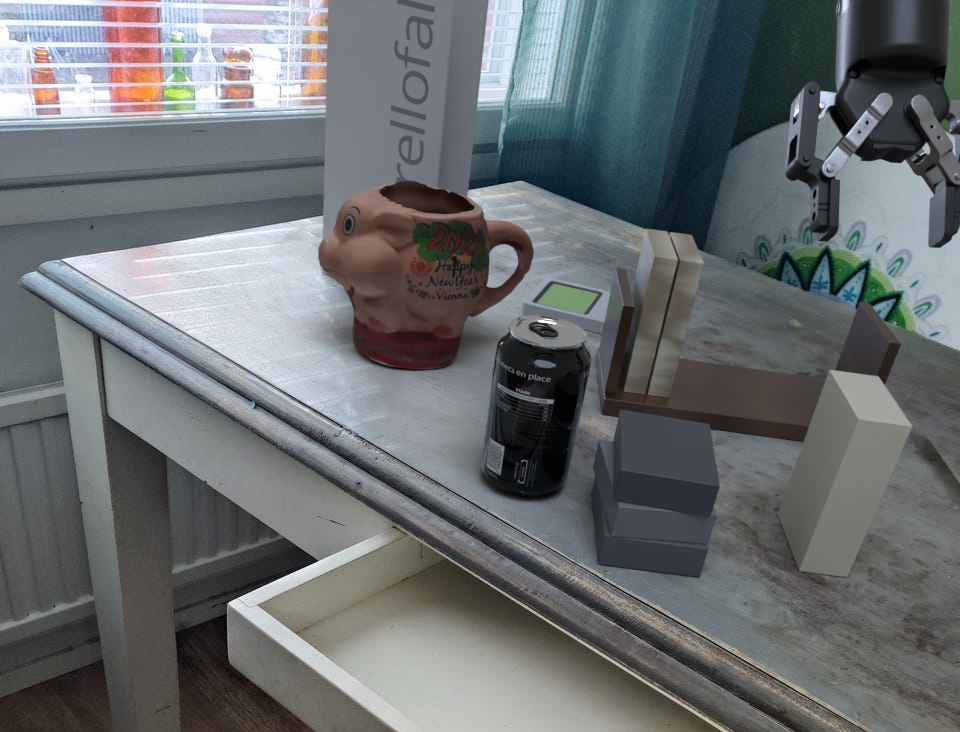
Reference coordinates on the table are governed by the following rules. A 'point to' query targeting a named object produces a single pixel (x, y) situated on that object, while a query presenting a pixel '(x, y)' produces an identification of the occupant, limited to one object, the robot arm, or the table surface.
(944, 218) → the robot arm
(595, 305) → the handheld gaming console
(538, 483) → the beverage can
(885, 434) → the tall beige pillar
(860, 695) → the table surface
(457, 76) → the white lettered box
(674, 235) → the book rack
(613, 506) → the stacked grey blocks
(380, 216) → the pig-shaped ceramic mug
